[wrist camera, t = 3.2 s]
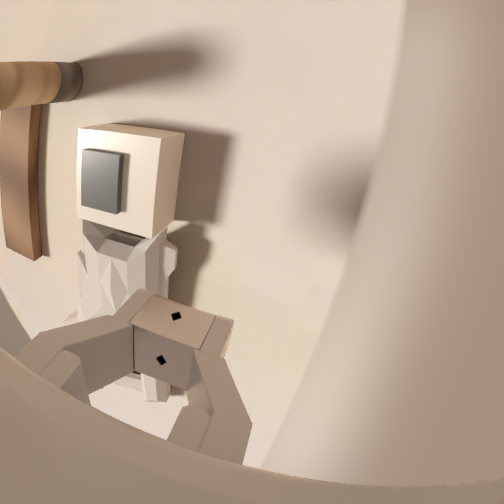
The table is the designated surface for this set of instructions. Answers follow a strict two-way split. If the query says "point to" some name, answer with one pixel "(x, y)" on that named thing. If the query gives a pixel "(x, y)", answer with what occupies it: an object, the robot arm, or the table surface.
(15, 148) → the bar
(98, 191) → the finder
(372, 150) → the table surface
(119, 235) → the gun
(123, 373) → the robot arm
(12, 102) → the tan rounded rod
